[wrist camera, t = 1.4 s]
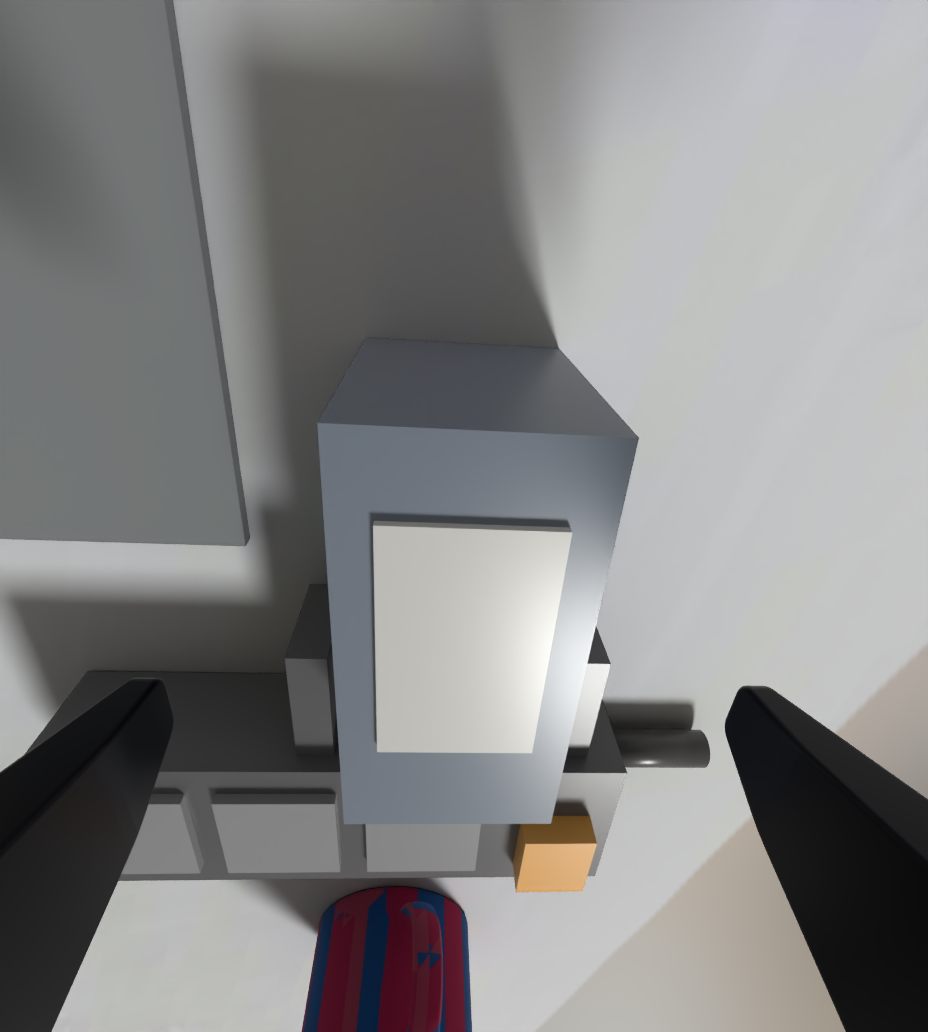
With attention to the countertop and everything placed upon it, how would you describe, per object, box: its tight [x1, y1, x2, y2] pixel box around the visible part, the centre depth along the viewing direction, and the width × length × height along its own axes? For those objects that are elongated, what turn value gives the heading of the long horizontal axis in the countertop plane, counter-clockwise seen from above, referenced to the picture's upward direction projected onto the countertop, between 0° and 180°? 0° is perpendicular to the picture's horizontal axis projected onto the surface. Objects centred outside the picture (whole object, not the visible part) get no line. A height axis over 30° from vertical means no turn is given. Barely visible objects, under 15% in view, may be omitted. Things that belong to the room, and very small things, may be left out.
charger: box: [317, 337, 639, 824], centre depth 12 cm, size 4×9×6 cm, turn 176°
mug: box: [302, 887, 472, 1032], centre depth 22 cm, size 7×10×7 cm
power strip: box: [25, 585, 710, 892], centre depth 16 cm, size 20×8×4 cm, turn 86°
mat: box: [0, 0, 250, 546], centre depth 12 cm, size 7×12×1 cm, turn 176°
